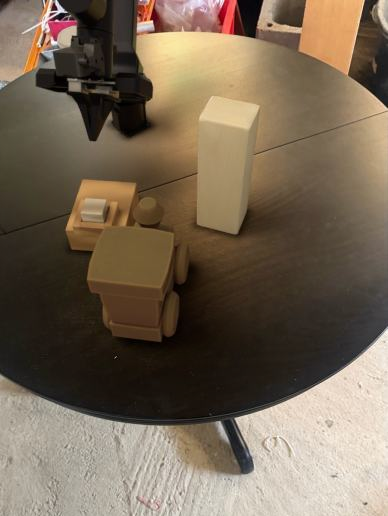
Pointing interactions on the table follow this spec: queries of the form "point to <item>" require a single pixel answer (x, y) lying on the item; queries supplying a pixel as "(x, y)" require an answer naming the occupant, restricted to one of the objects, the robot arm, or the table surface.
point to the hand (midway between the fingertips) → (92, 141)
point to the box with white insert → (119, 212)
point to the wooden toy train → (139, 274)
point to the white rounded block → (94, 210)
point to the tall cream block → (225, 162)
